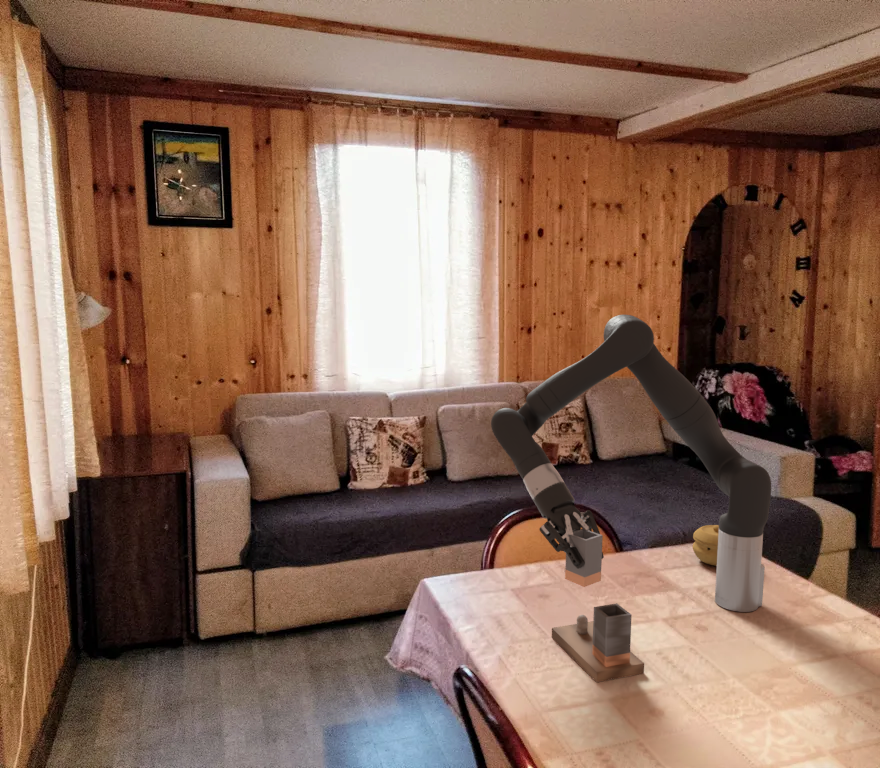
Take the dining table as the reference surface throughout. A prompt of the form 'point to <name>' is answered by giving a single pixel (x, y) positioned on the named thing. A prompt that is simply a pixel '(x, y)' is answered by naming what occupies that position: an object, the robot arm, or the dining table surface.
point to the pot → (706, 544)
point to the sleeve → (585, 558)
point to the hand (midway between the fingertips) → (590, 562)
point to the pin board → (601, 643)
